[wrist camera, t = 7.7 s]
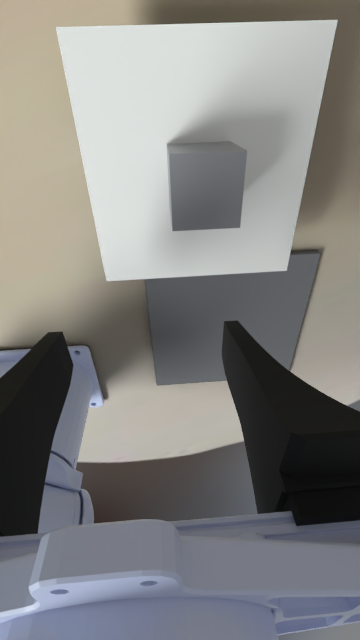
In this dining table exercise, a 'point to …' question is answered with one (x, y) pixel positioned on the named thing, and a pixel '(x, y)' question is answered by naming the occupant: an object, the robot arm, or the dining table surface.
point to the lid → (196, 140)
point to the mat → (225, 317)
